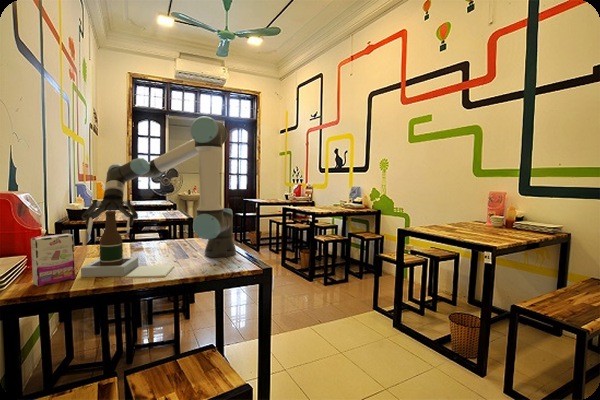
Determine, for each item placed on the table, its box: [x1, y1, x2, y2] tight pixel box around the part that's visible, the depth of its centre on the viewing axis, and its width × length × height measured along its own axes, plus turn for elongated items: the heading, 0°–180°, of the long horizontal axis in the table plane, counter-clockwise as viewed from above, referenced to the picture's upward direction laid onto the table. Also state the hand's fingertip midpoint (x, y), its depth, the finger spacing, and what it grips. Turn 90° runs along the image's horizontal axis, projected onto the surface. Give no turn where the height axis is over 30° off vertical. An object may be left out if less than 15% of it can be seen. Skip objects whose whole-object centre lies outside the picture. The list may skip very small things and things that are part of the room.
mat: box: [125, 264, 175, 279], centre depth 124 cm, size 14×14×1 cm
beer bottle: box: [99, 210, 124, 266], centre depth 124 cm, size 8×8×24 cm
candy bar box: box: [30, 233, 76, 287], centre depth 110 cm, size 11×5×16 cm, turn 148°
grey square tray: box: [80, 256, 139, 278], centre depth 125 cm, size 15×15×4 cm
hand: (108, 232), depth 126 cm, fingers open, 13 cm apart
